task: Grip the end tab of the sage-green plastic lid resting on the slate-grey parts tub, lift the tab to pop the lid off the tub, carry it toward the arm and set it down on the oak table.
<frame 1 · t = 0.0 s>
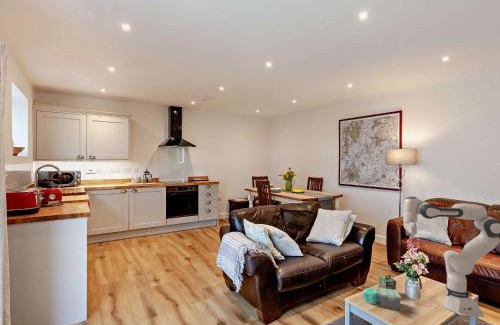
hand: (409, 237, 200), 48 cm above the table, fingers open, 8 cm apart
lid: (389, 293, 196), point 8 cm above the table, touching tub
chalk box: (386, 293, 213), on the table
decorative dice: (370, 301, 201), on the table
tub: (388, 304, 196), on the table
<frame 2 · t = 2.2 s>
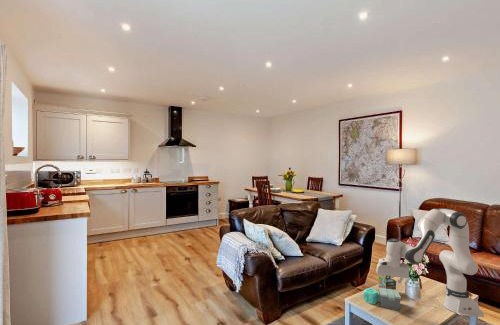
hand: (391, 282, 189), 20 cm above the table, fingers open, 8 cm apart
nothing on the table moved.
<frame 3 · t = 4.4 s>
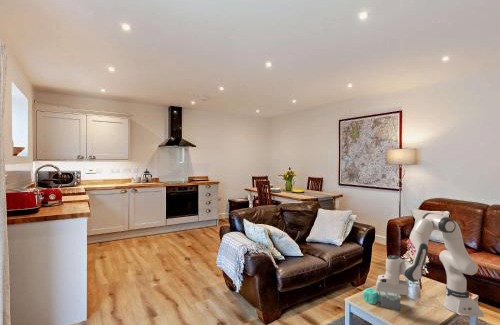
hand: (391, 298, 189), 8 cm above the table, fingers closed on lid, 3 cm apart
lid: (389, 293, 196), point 8 cm above the table, touching gripper, tub
everything else where it was.
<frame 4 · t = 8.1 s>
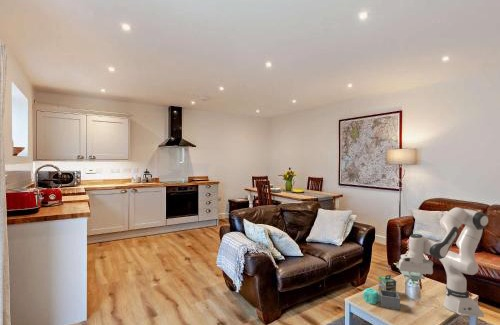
hand: (414, 278, 185), 25 cm above the table, fingers closed on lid, 3 cm apart
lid: (411, 274, 192), point 24 cm above the table, touching gripper
everything else where it was.
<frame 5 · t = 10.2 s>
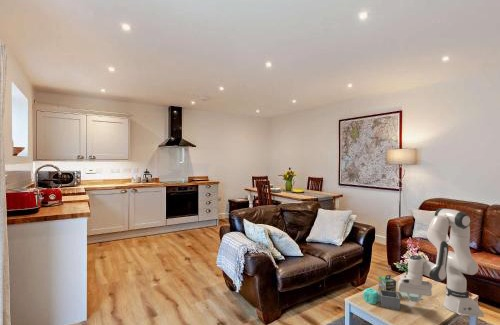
hand: (413, 299, 185), 10 cm above the table, fingers closed on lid, 3 cm apart
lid: (410, 295, 192), point 9 cm above the table, tilted 5°, touching gripper
everything else where it was.
when the fingers open (2 cm above the table, at t = 12.2 s): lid stays where it is, point 1 cm above the table.
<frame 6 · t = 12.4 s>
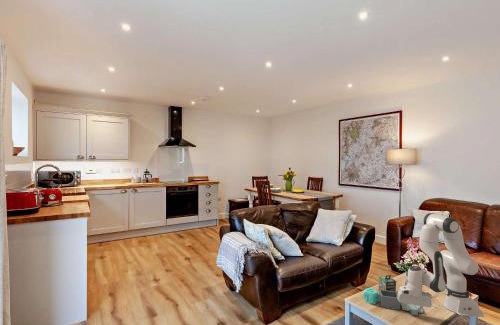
hand: (413, 310, 186), 2 cm above the table, fingers open, 5 cm apart
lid: (410, 307, 192), point 1 cm above the table
everything else where it was.
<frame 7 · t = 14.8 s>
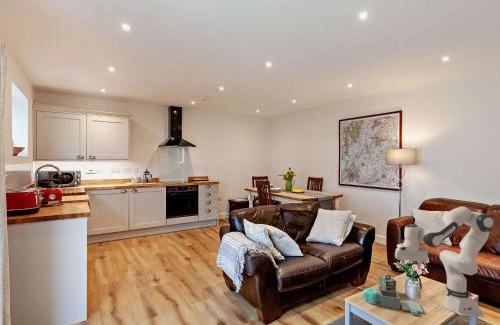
hand: (411, 266, 193), 30 cm above the table, fingers open, 8 cm apart
nothing on the table moved.
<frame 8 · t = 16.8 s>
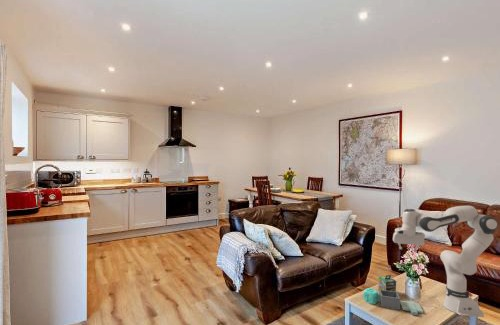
hand: (407, 249, 199), 39 cm above the table, fingers open, 8 cm apart
nothing on the table moved.
at the end: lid point 0.6 cm above the table; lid touching table; the gripper is holding nothing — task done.
